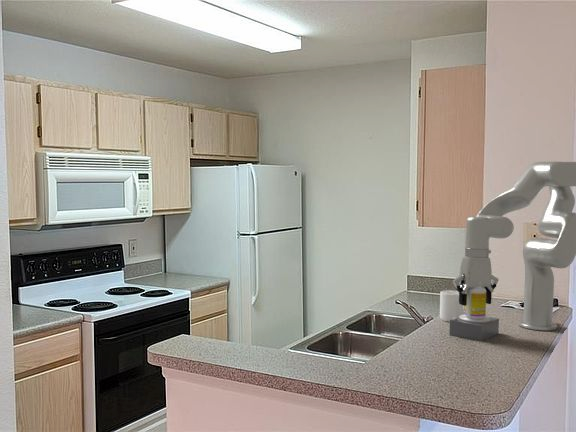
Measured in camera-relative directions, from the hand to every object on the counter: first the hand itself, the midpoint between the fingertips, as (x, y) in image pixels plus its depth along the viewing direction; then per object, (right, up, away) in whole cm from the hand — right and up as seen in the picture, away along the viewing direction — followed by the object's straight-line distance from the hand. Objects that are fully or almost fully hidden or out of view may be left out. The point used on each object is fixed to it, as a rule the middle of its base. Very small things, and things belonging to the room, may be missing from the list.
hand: (475, 304), depth 196 cm
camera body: (0, -10, +1) cm, 10 cm away
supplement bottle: (0, -5, 0) cm, 5 cm away
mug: (-1, -9, +22) cm, 24 cm away
